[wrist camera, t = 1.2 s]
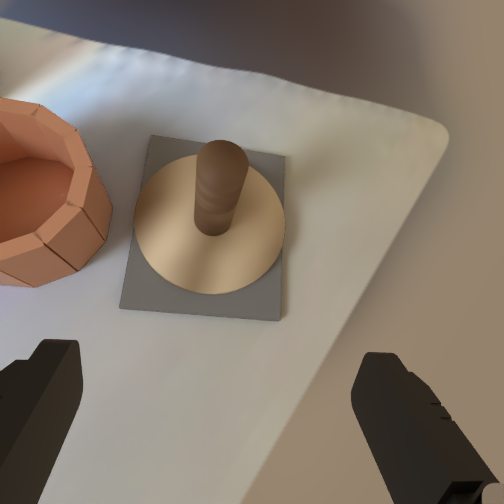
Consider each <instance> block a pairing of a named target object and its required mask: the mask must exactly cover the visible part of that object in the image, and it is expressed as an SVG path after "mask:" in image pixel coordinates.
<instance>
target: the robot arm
mask: <svg viewBox="0 0 504 504" xmlns="http://www.w3.org/2000/svg"><path fill="white" fill-rule="evenodd" d="M82 392H83V376H82V366H81V357H80V347H79V343H78V341H77V340H60V339H44V340H42V341H41V342H40V344H39V345H38V346H37V348H36V349H35V351H34V352H33V354H32V355H31V357H30V358H29V359H28V360H15V361H14V362H12V363H11V364H10V365H8V366H7V367H5V368H4V369H3V370H1V371H0V504H37V503H38V501H39V499H40V496H41V494H42V492H43V489H44V487H45V485H46V482H47V480H48V478H49V475H50V473H51V471H52V468H53V466H54V464H55V461H56V459H57V457H58V454H59V452H60V450H61V447H62V445H63V443H64V440H65V438H66V436H67V433H68V431H69V429H70V426H71V424H72V422H73V419H74V417H75V415H76V412H77V410H78V408H79V405H80V401H81V397H82ZM351 403H352V408H353V411H354V413H355V415H356V418H357V420H358V422H359V425H360V427H361V429H362V431H363V434H364V436H365V438H366V440H367V443H368V445H369V447H370V449H371V452H372V454H373V457H374V459H375V461H376V463H377V466H378V468H379V470H380V473H381V475H382V477H383V479H384V481H385V484H386V486H387V489H388V491H389V493H390V495H391V498H392V500H393V502H394V504H504V484H501V483H500V482H499V481H498V480H497V479H496V477H495V476H494V475H493V473H492V472H491V471H490V469H489V468H488V466H487V465H486V464H485V462H484V461H483V460H482V458H481V457H480V455H479V454H478V453H477V451H476V450H475V449H474V448H473V446H472V445H471V443H470V442H469V440H468V439H467V438H466V436H465V435H464V434H463V432H462V431H461V430H460V428H459V427H458V425H457V424H456V423H455V421H452V419H451V416H450V415H449V413H448V412H447V410H446V409H445V408H444V406H441V402H440V401H439V399H438V398H437V397H436V395H435V394H434V393H433V391H432V390H431V389H430V387H429V386H428V385H427V384H426V383H425V382H423V381H422V380H421V379H420V378H419V377H417V376H416V375H415V374H414V373H413V372H408V371H407V369H406V368H405V366H404V365H403V364H402V362H401V360H400V359H399V358H398V356H397V355H395V354H394V353H379V352H368V353H366V354H365V356H364V358H363V360H362V363H361V366H360V368H359V371H358V374H357V376H356V379H355V382H354V384H353V387H352V390H351Z"/></svg>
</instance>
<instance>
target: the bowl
mask: <svg viewBox="0 0 504 504" xmlns="http://www.w3.org/2000/svg"><path fill="white" fill-rule="evenodd" d="M112 210H113V208H112V204H111V202H110V199H109V197H108V195H107V192H106V190H105V188H104V185H103V183H102V181H101V178H100V176H99V174H98V172H97V170H96V168H95V166H94V164H93V161H92V159H91V157H90V155H89V153H88V151H87V149H86V147H85V145H84V143H83V141H82V138H81V136H80V134H79V132H78V130H77V129H76V128H74V127H73V126H71V125H70V124H69V123H67V122H66V121H64V120H63V119H61V118H60V117H58V116H57V115H56V114H54V113H53V112H51V111H50V110H48V109H47V108H45V107H44V106H43V105H41V106H40V104H36V103H30V102H24V101H18V100H12V99H6V98H0V285H9V286H20V287H32V288H34V287H39V286H42V285H44V284H47V283H49V282H52V281H55V280H57V279H60V278H63V277H65V276H68V275H70V274H73V273H76V272H77V271H76V270H78V271H79V270H80V269H81V268H82V267H83V266H84V265H85V264H86V262H87V261H88V260H89V259H90V258H91V257H92V256H93V255H94V254H95V253H96V252H97V251H98V250H99V249H100V247H101V246H102V245H103V244H104V243H105V242H104V241H106V238H107V233H108V229H109V224H110V219H111V215H112Z"/></svg>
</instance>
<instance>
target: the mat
mask: <svg viewBox="0 0 504 504" xmlns="http://www.w3.org/2000/svg"><path fill="white" fill-rule="evenodd" d="M204 145H205V143H198V142H192V141H186V140H180V139H174V138H168V137H162V136H155V135H151V139H150V144H149V149H148V155H147V160H146V165H145V171H144V176H143V182H142V187H141V191H142V189H143V188H144V186H145V184H146V183H147V182H148V181H149V179H150V178H151V177H152V176H153V175H154V174H155V173H156V172H157V171H158V170H160V169H161V168H163V167H164V166H166V165H167V164H169V163H171V162H173V161H175V160H178V159H180V158H183V157H187V156H191V155H198V152H199V150H200V149H201V148H202V147H203V146H204ZM243 151H244V152H245V154H246V155H247V157H248V161H249V166H250V167H252V168H253V169H255V170H256V171H257V172H258V173H260V174H261V175H262V176H263V177H264V178H265V179H266V180H267V181H268V182H269V184H270V185H271V186H272V187H273V189H274V191H275V192H276V194H277V196H278V198H279V200H280V202H281V205H282V208H283V199H284V161H285V156H278V155H272V154H266V153H260V152H254V151H248V150H243ZM140 193H141V192H140ZM281 275H282V247H281V250H280V253H279V255H278V256H277V258H276V260H275V262H274V263H273V264H272V265H271V267H270V268H269V269H268V270H267V271H266V272H265V273H264V274H263V275H262V276H261V277H260V278H259V279H258V280H256V281H255V282H254V283H252V284H250V285H248V286H247V287H245V288H242V289H240V290H237V291H234V292H230V293H226V294H217V295H205V294H198V293H193V292H190V291H186V290H183V289H181V288H179V287H177V286H174V285H173V284H171V283H170V282H168V281H166V280H165V279H164V278H162V277H161V276H160V275H159V274H158V273H157V272H156V271H155V270H154V269H153V268H152V267H151V266H150V264H149V263H148V262H147V260H146V259H145V257H144V255H143V253H142V251H141V249H140V247H139V244H138V241H137V238H136V233H135V228H134V230H133V235H132V241H131V246H130V251H129V257H128V262H127V267H126V273H125V278H124V284H123V289H122V294H121V300H120V305H119V308H120V309H130V310H143V311H155V312H168V313H180V314H193V315H205V316H218V317H230V318H243V319H255V320H268V321H280V313H281Z"/></svg>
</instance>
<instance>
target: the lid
mask: <svg viewBox="0 0 504 504" xmlns="http://www.w3.org/2000/svg"><path fill="white" fill-rule="evenodd" d="M134 228H135V233H136V238H137V241H138V244H139V247H140V249H141V251H142V253H143V255H144V257H145V259H146V260H147V262H148V263H149V264H150V266H151V267H152V268H153V269H154V270H155V271H156V272H157V273H158V274H159V275H160V276H161V277H162V278H164V279H165V280H166V281H168V282H170V283H171V284H173V285H174V286H177V287H179V288H181V289H183V290H186V291H190V292H193V293H198V294H205V295H217V294H226V293H230V292H234V291H237V290H240V289H242V288H245V287H247V286H248V285H250V284H252V283H254V282H255V281H256V280H258V279H259V278H260V277H261V276H262V275H263V274H264V273H265V272H266V271H267V270H268V269H269V268H270V267H271V265H272V264H273V263H274V262H275V260H276V258H277V256H278V255H279V253H280V250H281V247H282V245H283V240H284V236H285V217H284V212H283V208H282V205H281V202H280V200H279V198H278V196H277V194H276V192H275V191H274V189H273V187H272V186H271V185H270V184H269V182H268V181H267V180H266V179H265V178H264V177H263V176H262V175H261V174H260V173H258V172H257V171H256V170H255V169H253V168H252V167H250V166H249V161H248V157H247V155H246V154H245V152H244V151H243V150H242V149H241V148H240V147H239V146H238V145H236V144H235V143H232V142H230V141H226V140H215V141H211V142H209V143H207V144H205V145H204V146H203V147H202V148H201V149H200V150H199V152H198V155H191V156H187V157H183V158H180V159H178V160H175V161H173V162H171V163H169V164H167V165H166V166H164V167H163V168H161V169H160V170H158V171H157V172H156V173H155V174H154V175H153V176H152V177H151V178H150V179H149V181H148V182H147V183H146V184H145V186H144V188H143V189H142V191H141V193H140V195H139V198H138V200H137V204H136V208H135V215H134Z"/></svg>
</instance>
